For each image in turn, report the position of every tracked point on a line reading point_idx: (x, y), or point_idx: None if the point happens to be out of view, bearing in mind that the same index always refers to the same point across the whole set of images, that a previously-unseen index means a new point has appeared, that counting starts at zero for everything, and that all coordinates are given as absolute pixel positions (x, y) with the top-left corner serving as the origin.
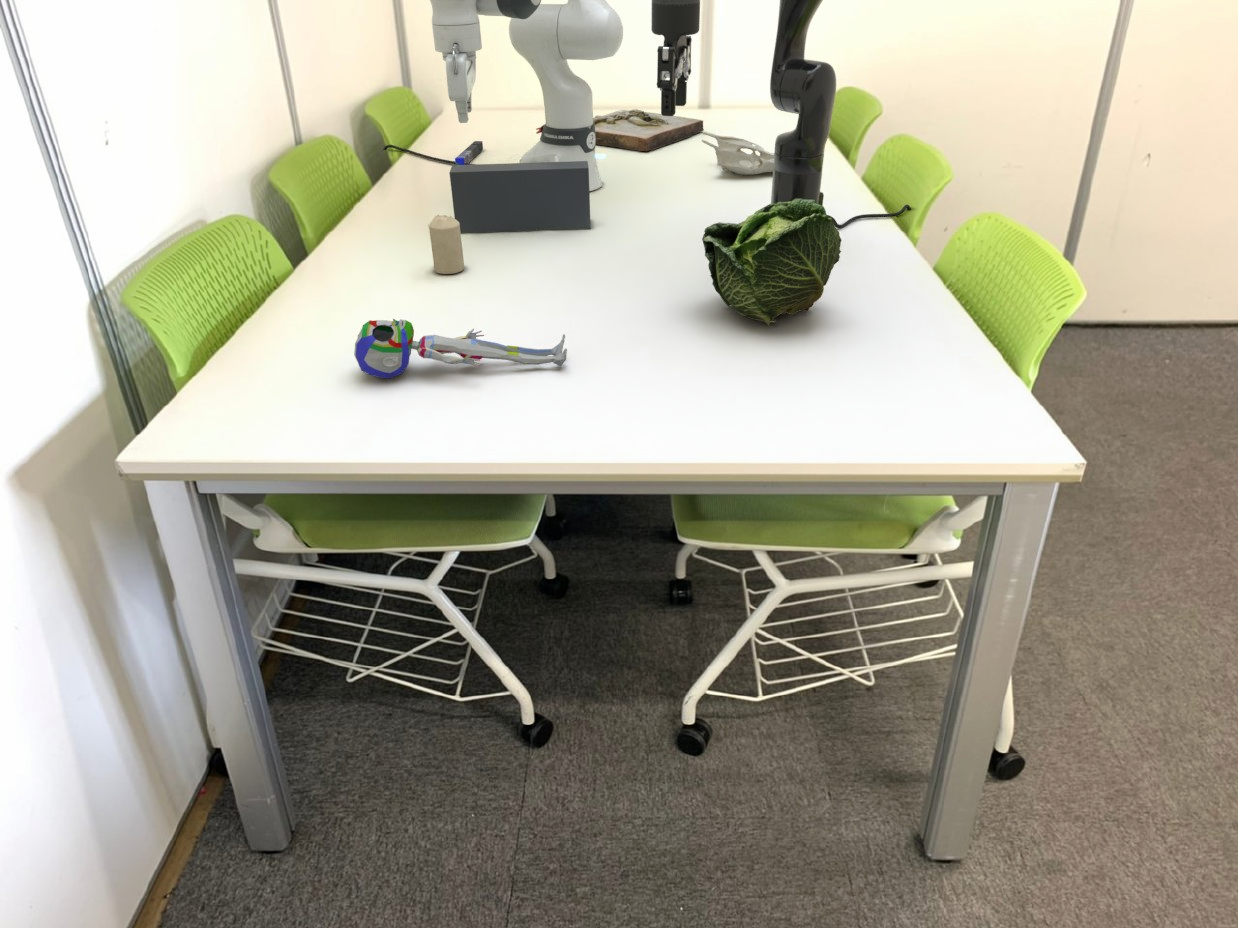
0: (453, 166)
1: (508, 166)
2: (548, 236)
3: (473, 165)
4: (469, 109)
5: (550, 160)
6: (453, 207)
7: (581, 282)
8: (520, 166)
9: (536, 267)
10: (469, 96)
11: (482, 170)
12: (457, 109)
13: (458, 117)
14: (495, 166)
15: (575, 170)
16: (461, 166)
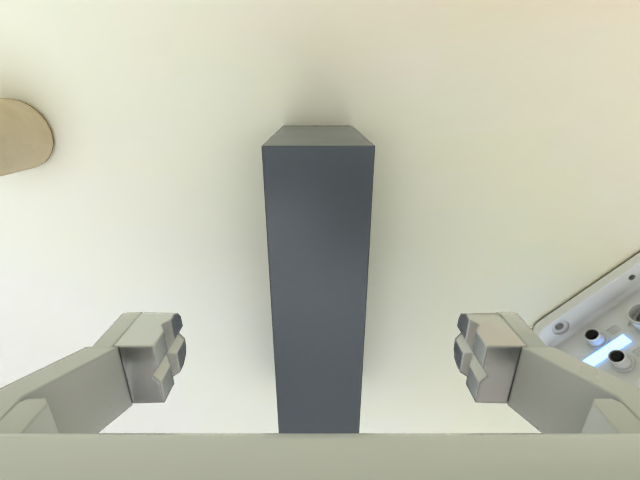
0: (352, 154)
1: (324, 336)
2: (253, 320)
3: (356, 228)
4: (460, 360)
5: (619, 377)
6: (276, 132)
7: (10, 367)
8: (320, 366)
9: (71, 301)
10: (556, 431)
11: (280, 262)
12: (45, 374)
13: (109, 329)
14: (329, 299)
15: None
16: (347, 185)
